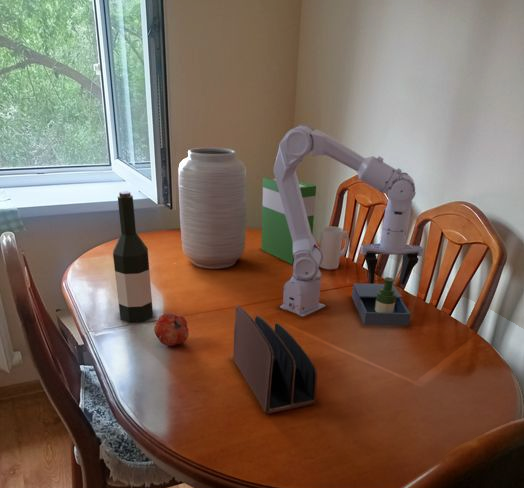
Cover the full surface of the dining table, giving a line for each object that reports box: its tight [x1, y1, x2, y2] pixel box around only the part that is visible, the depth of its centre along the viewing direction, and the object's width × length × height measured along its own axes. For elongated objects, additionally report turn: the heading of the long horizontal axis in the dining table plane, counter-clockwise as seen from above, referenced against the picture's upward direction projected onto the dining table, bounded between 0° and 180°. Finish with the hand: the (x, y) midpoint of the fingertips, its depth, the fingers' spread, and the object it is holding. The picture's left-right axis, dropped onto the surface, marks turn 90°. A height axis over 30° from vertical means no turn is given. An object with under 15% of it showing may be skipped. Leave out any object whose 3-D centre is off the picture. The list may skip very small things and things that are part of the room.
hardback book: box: [260, 177, 317, 266], centre depth 160 cm, size 18×7×24 cm, turn 35°
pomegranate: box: [153, 312, 189, 347], centre depth 109 cm, size 7×7×10 cm
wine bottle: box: [112, 190, 154, 324], centre depth 115 cm, size 8×8×30 cm
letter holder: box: [232, 305, 318, 415], centre depth 95 cm, size 10×20×14 cm, turn 21°
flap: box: [353, 282, 403, 299], centre depth 130 cm, size 8×11×1 cm
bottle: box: [374, 276, 397, 313], centre depth 121 cm, size 5×5×11 cm
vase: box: [178, 147, 248, 270], centre depth 150 cm, size 20×20×34 cm
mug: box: [319, 225, 350, 270], centre depth 155 cm, size 10×7×12 cm, turn 115°
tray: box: [351, 285, 412, 327], centre depth 127 cm, size 17×11×4 cm, turn 1°
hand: (386, 282), depth 121 cm, fingers open, 7 cm apart
